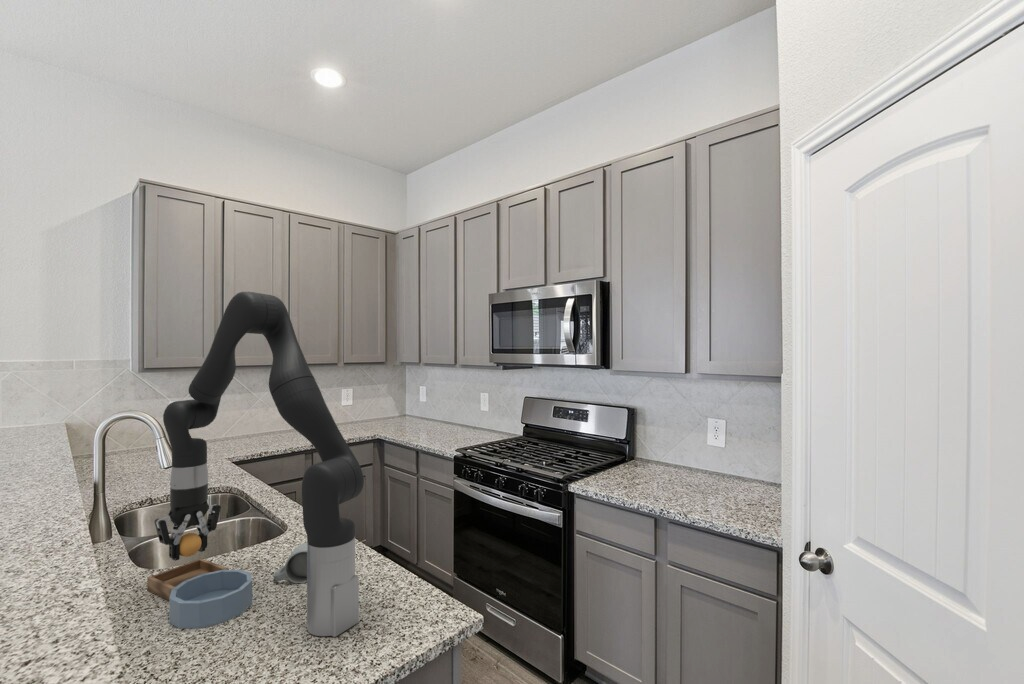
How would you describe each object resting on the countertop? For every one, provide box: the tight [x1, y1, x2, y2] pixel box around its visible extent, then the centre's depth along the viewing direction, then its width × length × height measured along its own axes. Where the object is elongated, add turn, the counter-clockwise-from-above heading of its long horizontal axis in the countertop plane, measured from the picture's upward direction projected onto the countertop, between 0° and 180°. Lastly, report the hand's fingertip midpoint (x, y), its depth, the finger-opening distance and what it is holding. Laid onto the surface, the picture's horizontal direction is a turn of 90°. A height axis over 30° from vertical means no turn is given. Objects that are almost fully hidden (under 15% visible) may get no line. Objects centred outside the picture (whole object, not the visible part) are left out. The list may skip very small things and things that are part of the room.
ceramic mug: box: [272, 542, 307, 584], centre depth 120 cm, size 11×8×8 cm
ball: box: [178, 532, 202, 558], centre depth 116 cm, size 5×5×5 cm
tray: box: [146, 558, 230, 602], centre depth 115 cm, size 12×12×3 cm
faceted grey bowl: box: [168, 569, 253, 629], centre depth 105 cm, size 15×15×5 cm
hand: (188, 554), depth 115 cm, fingers closed on ball, 5 cm apart
